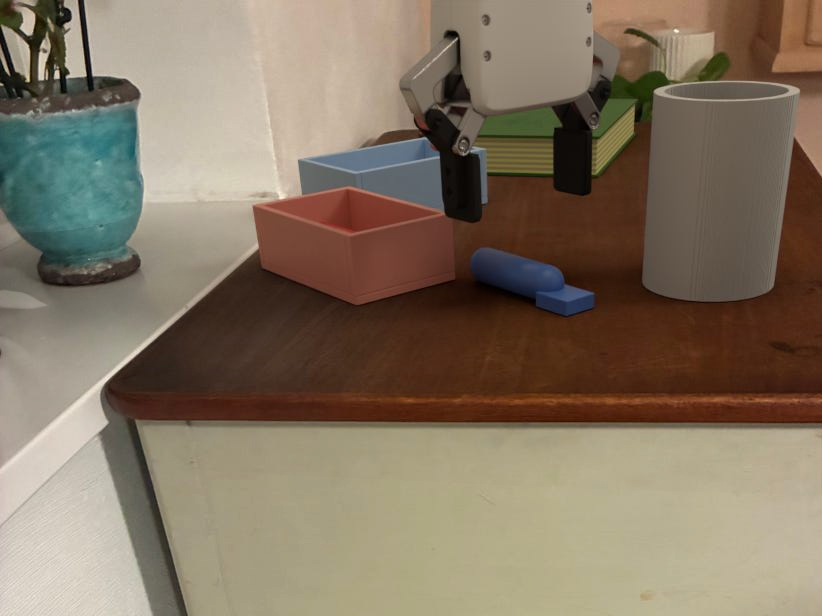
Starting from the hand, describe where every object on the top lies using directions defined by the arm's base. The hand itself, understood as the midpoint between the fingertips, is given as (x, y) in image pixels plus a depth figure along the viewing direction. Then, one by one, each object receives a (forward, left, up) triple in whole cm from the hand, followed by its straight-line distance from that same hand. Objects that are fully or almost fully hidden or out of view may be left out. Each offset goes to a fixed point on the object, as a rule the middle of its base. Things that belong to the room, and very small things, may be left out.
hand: (519, 205), depth 68 cm
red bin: (-12, -6, -6) cm, 15 cm away
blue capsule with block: (+1, 0, -6) cm, 6 cm away
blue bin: (-27, +9, -6) cm, 29 cm away
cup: (+8, +11, -6) cm, 14 cm away
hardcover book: (-37, +35, -6) cm, 51 cm away
